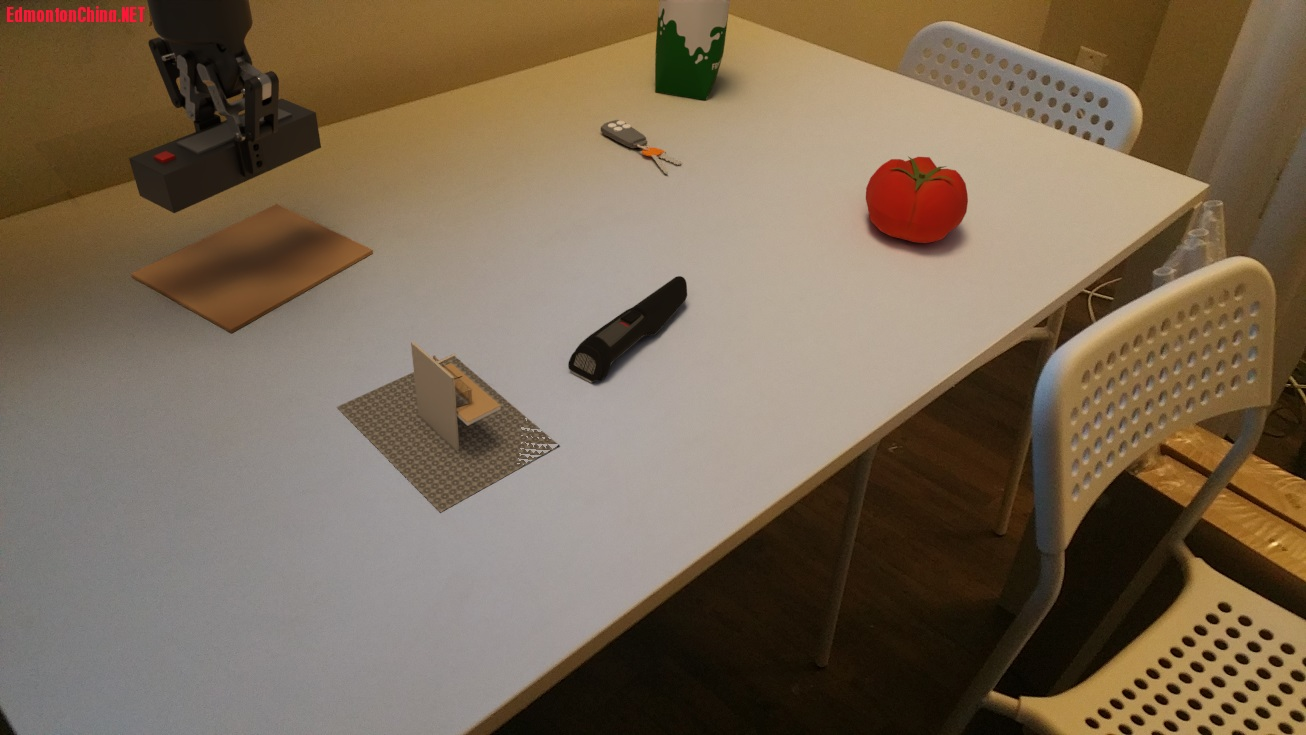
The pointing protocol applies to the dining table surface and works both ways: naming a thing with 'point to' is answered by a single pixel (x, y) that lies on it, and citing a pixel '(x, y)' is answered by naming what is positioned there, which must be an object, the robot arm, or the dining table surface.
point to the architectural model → (445, 429)
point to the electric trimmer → (627, 331)
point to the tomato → (916, 199)
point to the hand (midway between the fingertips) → (234, 164)
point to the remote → (218, 159)
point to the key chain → (635, 141)
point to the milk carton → (689, 46)
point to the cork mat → (252, 266)
